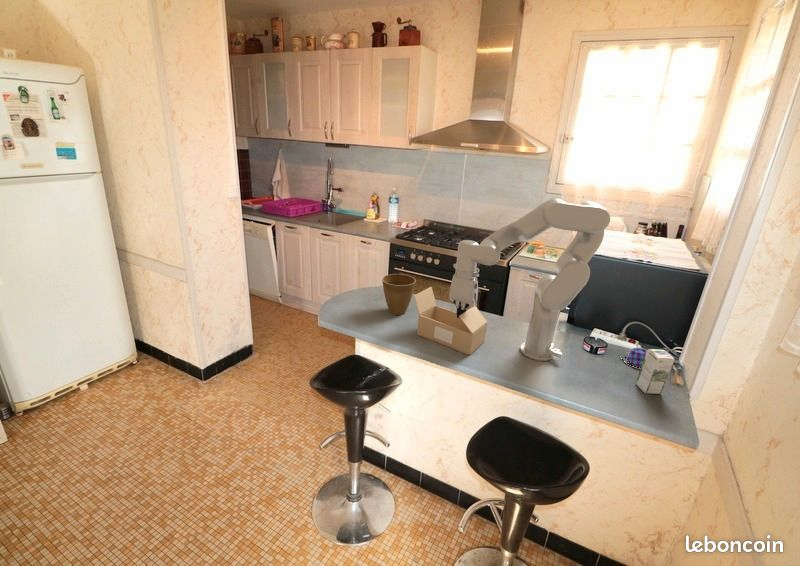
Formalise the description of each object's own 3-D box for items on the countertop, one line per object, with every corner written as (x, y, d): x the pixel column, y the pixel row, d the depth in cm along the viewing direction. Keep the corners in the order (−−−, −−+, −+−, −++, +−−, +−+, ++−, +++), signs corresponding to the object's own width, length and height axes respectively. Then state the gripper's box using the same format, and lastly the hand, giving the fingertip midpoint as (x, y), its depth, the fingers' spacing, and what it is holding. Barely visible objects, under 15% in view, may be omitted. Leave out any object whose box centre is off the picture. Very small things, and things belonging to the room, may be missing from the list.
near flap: (458, 316, 145) (459, 315, 145) (474, 305, 155) (474, 305, 155) (471, 333, 144) (472, 333, 143) (486, 321, 154) (487, 321, 153)
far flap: (431, 286, 165) (430, 286, 165) (414, 295, 155) (413, 295, 155) (436, 304, 166) (435, 304, 166) (419, 314, 156) (418, 314, 156)
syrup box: (650, 384, 137) (663, 348, 131) (661, 395, 131) (675, 358, 126) (634, 383, 136) (647, 348, 131) (645, 394, 131) (658, 357, 125)
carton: (484, 342, 157) (487, 322, 154) (469, 356, 147) (472, 335, 143) (433, 323, 170) (435, 305, 166) (416, 334, 159) (418, 315, 156)
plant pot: (414, 306, 185) (417, 275, 179) (411, 320, 171) (413, 287, 165) (384, 303, 187) (385, 271, 181) (377, 316, 173) (379, 283, 167)
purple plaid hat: (643, 355, 156) (647, 343, 154) (662, 372, 145) (666, 360, 143) (614, 353, 156) (617, 342, 154) (630, 370, 144) (634, 358, 143)
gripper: (488, 275, 145) (481, 319, 152) (452, 266, 153) (448, 308, 160) (479, 281, 139) (473, 326, 146) (443, 271, 147) (439, 314, 154)
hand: (460, 317), depth 153 cm, fingers closed
